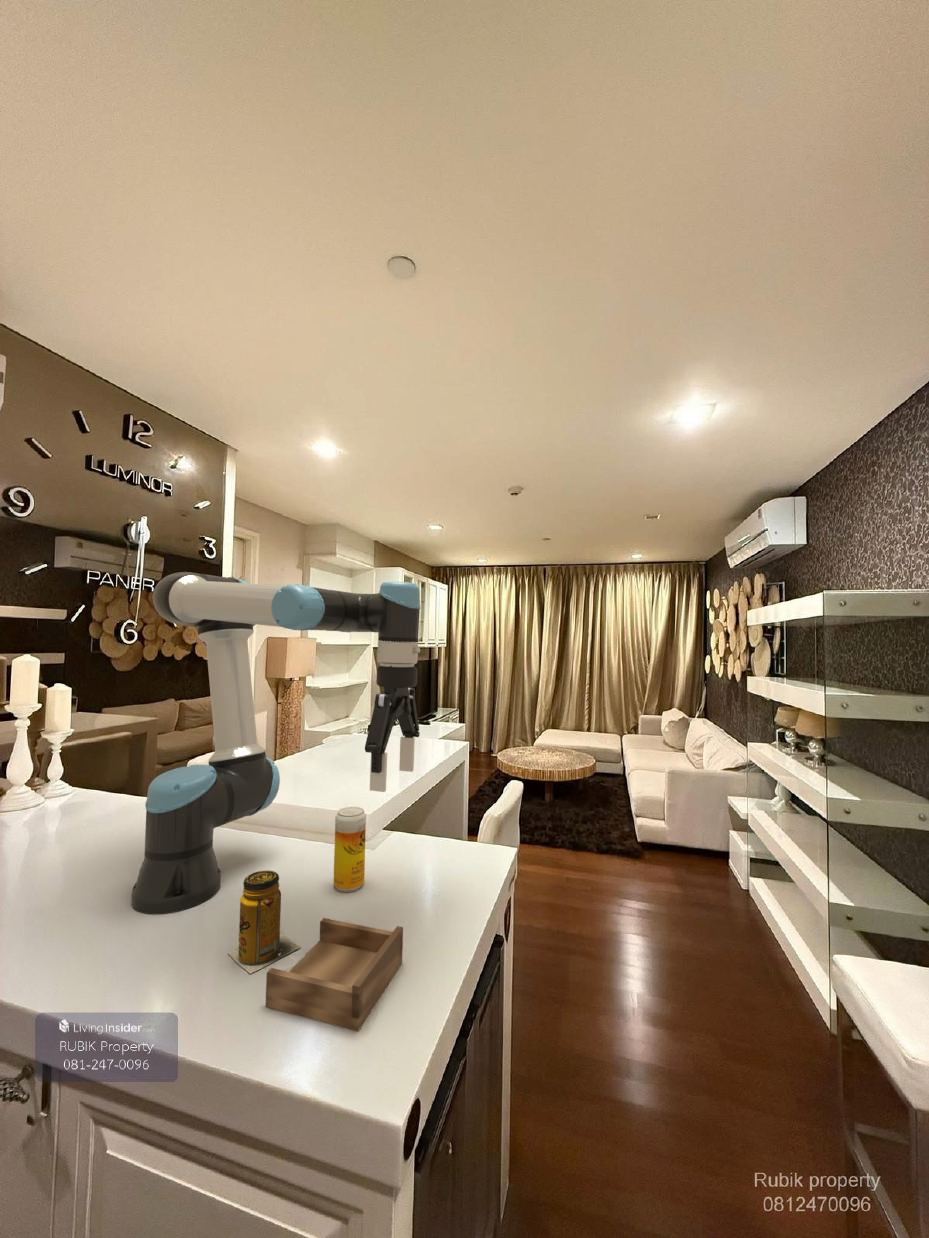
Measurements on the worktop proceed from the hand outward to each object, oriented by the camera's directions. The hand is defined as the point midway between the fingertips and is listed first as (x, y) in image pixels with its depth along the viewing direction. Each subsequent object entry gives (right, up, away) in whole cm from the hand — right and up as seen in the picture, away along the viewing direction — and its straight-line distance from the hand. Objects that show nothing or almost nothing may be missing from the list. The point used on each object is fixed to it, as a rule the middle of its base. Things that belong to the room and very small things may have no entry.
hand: (393, 780), depth 92 cm
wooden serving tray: (-5, -23, -20) cm, 31 cm away
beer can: (-10, -25, +9) cm, 28 cm away
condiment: (-19, -24, -13) cm, 33 cm away
